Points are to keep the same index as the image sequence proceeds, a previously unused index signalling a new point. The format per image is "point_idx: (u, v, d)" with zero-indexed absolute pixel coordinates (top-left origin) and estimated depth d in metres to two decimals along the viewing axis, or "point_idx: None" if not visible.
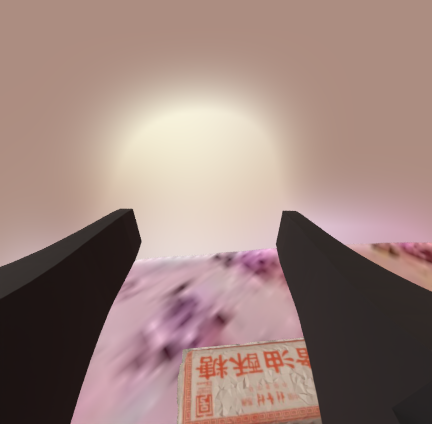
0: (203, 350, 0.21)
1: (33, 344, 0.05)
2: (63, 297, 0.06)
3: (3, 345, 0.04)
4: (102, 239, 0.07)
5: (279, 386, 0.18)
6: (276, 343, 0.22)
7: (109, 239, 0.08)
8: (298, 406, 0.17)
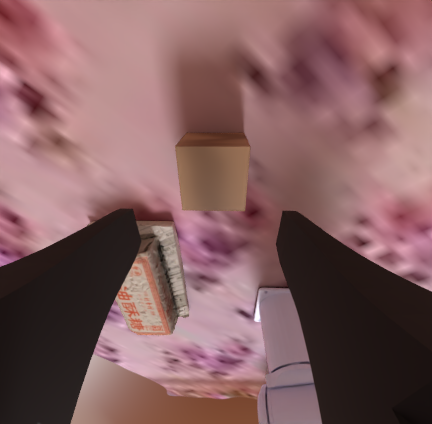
0: (127, 324, 0.28)
1: (33, 344, 0.05)
2: (63, 297, 0.06)
3: (3, 345, 0.04)
4: (102, 239, 0.07)
5: (140, 297, 0.23)
6: None
7: (109, 239, 0.08)
8: (150, 292, 0.23)
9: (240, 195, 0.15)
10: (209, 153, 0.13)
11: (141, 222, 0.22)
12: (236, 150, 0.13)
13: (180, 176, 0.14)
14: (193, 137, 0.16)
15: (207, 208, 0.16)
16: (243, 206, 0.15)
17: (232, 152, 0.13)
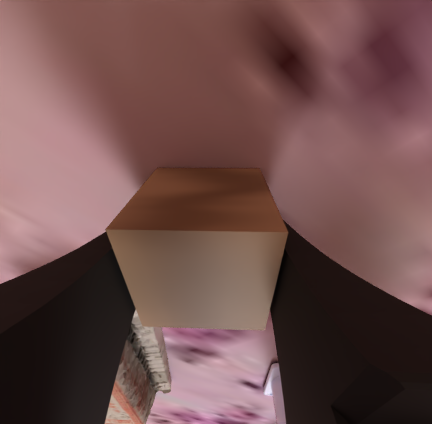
0: None
1: (75, 346, 0.05)
2: (99, 298, 0.05)
3: (52, 347, 0.04)
4: None
5: None
6: None
7: None
8: (111, 395, 0.15)
9: (258, 310, 0.07)
10: (189, 243, 0.06)
11: None
12: (253, 238, 0.05)
13: (128, 280, 0.07)
14: (163, 185, 0.08)
15: (190, 325, 0.08)
16: (262, 324, 0.08)
17: (243, 242, 0.06)
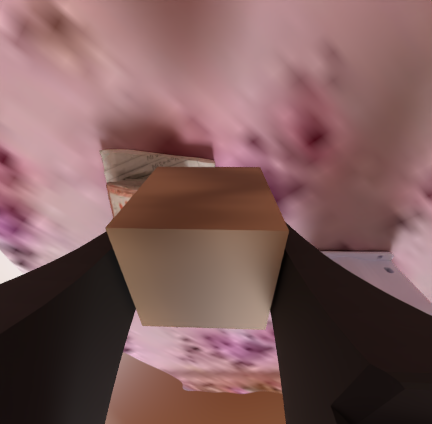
0: None
1: (75, 346, 0.05)
2: (99, 298, 0.05)
3: (52, 347, 0.04)
4: None
5: None
6: None
7: None
8: None
9: (258, 309, 0.07)
10: (189, 242, 0.06)
11: (172, 156, 0.17)
12: (254, 237, 0.05)
13: (128, 279, 0.07)
14: (163, 184, 0.08)
15: (191, 325, 0.08)
16: (262, 323, 0.08)
17: (244, 241, 0.05)
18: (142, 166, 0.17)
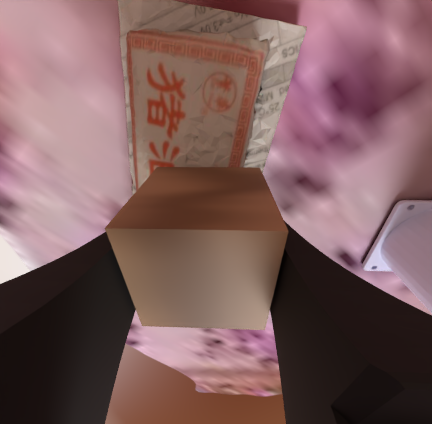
0: None
1: (75, 346, 0.05)
2: (99, 298, 0.05)
3: (52, 347, 0.04)
4: None
5: None
6: (136, 151, 0.11)
7: None
8: None
9: (258, 309, 0.07)
10: (188, 242, 0.06)
11: None
12: (253, 237, 0.05)
13: (128, 279, 0.07)
14: (163, 184, 0.08)
15: (190, 325, 0.08)
16: (262, 323, 0.08)
17: (243, 241, 0.05)
18: None
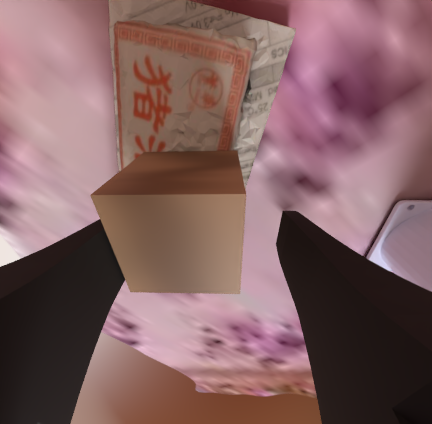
0: None
1: (33, 344, 0.05)
2: (63, 297, 0.06)
3: (3, 345, 0.04)
4: (102, 239, 0.07)
5: None
6: (122, 144, 0.11)
7: None
8: None
9: (231, 273, 0.08)
10: (162, 206, 0.06)
11: None
12: (217, 201, 0.06)
13: (114, 244, 0.07)
14: (146, 164, 0.09)
15: (173, 290, 0.09)
16: (236, 287, 0.09)
17: (209, 204, 0.06)
18: None
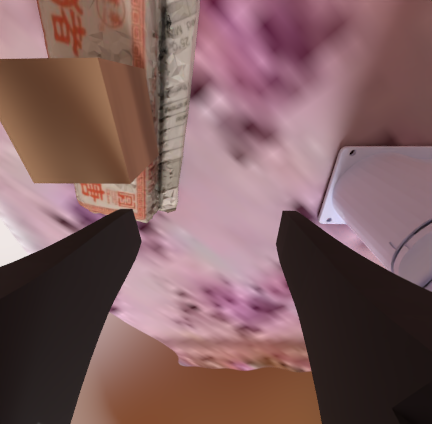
0: (75, 187, 0.17)
1: (33, 344, 0.05)
2: (63, 297, 0.06)
3: (3, 345, 0.04)
4: (102, 239, 0.07)
5: None
6: None
7: (109, 239, 0.08)
8: None
9: (114, 156, 0.09)
10: (32, 73, 0.08)
11: None
12: (76, 66, 0.07)
13: (3, 121, 0.08)
14: None
15: (70, 179, 0.10)
16: (125, 175, 0.10)
17: (70, 70, 0.07)
18: None
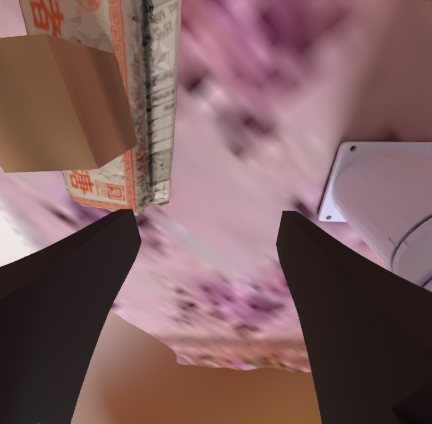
0: (65, 180, 0.17)
1: (33, 344, 0.05)
2: (63, 297, 0.06)
3: (3, 345, 0.04)
4: (102, 239, 0.07)
5: None
6: None
7: (109, 239, 0.08)
8: None
9: (78, 140, 0.09)
10: None
11: None
12: (25, 45, 0.07)
13: None
14: None
15: (39, 167, 0.10)
16: (91, 160, 0.09)
17: (21, 50, 0.07)
18: None
